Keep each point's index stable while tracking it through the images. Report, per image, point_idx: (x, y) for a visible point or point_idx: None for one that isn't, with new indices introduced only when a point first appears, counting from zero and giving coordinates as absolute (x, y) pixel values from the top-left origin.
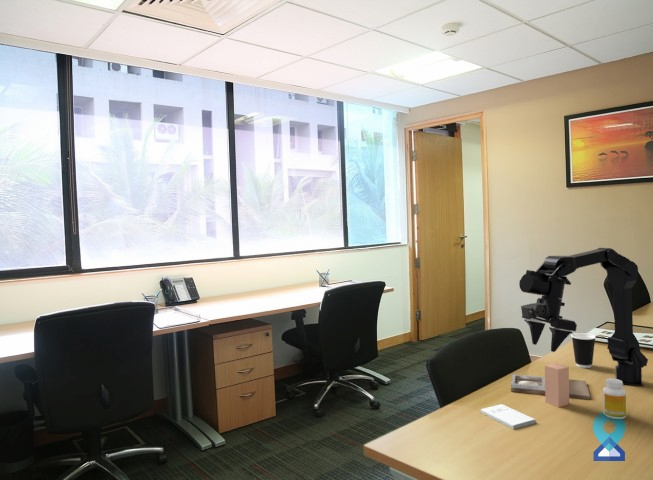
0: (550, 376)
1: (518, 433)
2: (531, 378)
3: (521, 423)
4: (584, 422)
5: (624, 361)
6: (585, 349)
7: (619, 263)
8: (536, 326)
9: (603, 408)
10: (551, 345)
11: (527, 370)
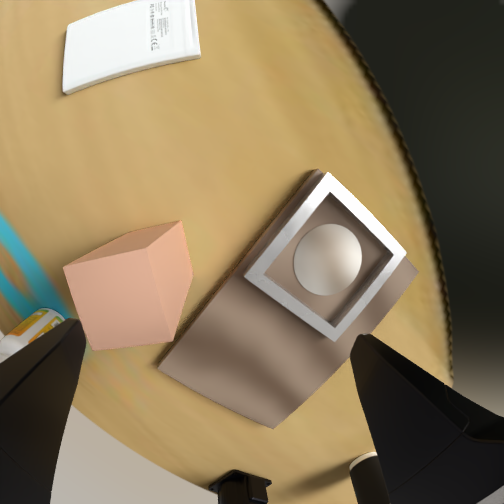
0: (125, 244)
1: (52, 33)
2: (356, 297)
3: (65, 46)
4: (30, 226)
5: None
6: (366, 494)
7: None
8: (441, 477)
9: (50, 318)
10: (46, 343)
11: (426, 342)
